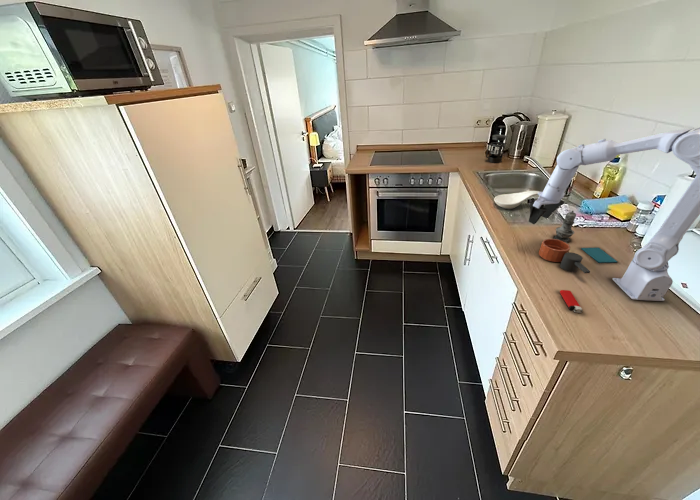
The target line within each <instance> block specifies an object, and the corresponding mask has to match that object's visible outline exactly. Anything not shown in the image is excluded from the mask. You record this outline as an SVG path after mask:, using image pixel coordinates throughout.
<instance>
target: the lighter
mask: <svg viewBox="0 0 700 500" xmlns="http://www.w3.org/2000/svg"><path fill="white" fill-rule="evenodd" d="M559 293H560V295H561V297H562V298H563V300H564V303H565V304H566V305H567V307H568V309H569V310H570V311H573V312H574V313H575V314H576V313H577V314H581V313H583V312H584V310H583V308H582V307H581V305H580V304H579V302H578V300H577V299H576V297H575V296H574V294H573V292H572V291H571V290H568V289H567V290H566V289H560V290H559Z"/></svg>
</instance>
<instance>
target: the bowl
mask: <svg viewBox="0 0 700 500" xmlns="http://www.w3.org/2000/svg"><path fill="white" fill-rule="evenodd" d="M570 250H571V246H570V244H569V243H568V242H563V241H561V240H557V239H554V238H545V239H543V240H542V242H541V245H540V248H539V250H538V256H539V257H541V258H542V259H544V260H546V261H548V262H553V263H561V262H562V259H563V257H564V254H565V253H567V252H570Z"/></svg>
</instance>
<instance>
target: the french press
mask: <svg viewBox="0 0 700 500" xmlns="http://www.w3.org/2000/svg"><path fill="white" fill-rule="evenodd" d="M497 127H498V128H500V131H499V134H493V135H492V141H493V142H491V143H488V144H487V148H486V152H485V153H486V154H485V158H486V159H487V160H486V162H487V163H490V164H500V163H502V162H503V154H504V151H505V147H506V143H505V142H503V141H506V140H507V138H508V135H506V134H501V133H502V130H503V128H506V126H505V125H499V126H497ZM500 141H501V142H500Z"/></svg>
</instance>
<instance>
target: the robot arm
mask: <svg viewBox="0 0 700 500" xmlns="http://www.w3.org/2000/svg"><path fill="white" fill-rule="evenodd" d="M651 150H658V151H660V152H663V153H664V154H669V153H671V152H672V154H673V155H674V156H675V158H677V159H678V160H680V161H682V162H684V163H685V164H688V165H689V166H690V168H691V169H692V170H693V172H694V173H695V175H696V176H695V177H694V178H693V180H692V181H691V182H690V184H689V185H688V187H687V188H686V189H685V191H684V193H683V194H682V196H681V197H680V199H679V200H678V201H677V203H676V204H675V206H674V208H672V209H671V211H670V213H669V214H668V216H667V217H666V219H665V220H664V221H663V223H662V224H661V225H660V227H659V228H658V230H657V231H656V232H655V234H653V236H652V237H651V238H650V240H649V241H648V242H647V243H646V244H645V245H643V246H642V247H641V248H639V249H637V250H636V251H635V253H634V256H633V258H632V260H631V261H630V262H629V264H628V266H627V268H626V270H625V272H624V274H623V275H622V277H612V278H611V280H612V281H613V282H614V283H615V284H616V285H617V286H618V287H619V288H620V289H621V290H622V291H623V292H624V293H625V294H626V295H627V296H628V297H629V298H630V299H632V300H633V301H656V302H664V301H665V300H666V299H665V298H664V296H665V295H666V293H667V292H668V291H669V290H670V288H671V286H672V285H673V282H674V281H673V279H672V277H671V276H670V275H669V273H668V269H669V268H670V265H669V261H670V260H671V259H672V258H673V257H675V256H676V255H677V254H678V253H679V250H680V248H679V247H680V243H681V241H682V240H683V238H684V236H685V234H686V233H687V232H688V230H689V229H690V228H691V227H692V225H693V224H694V223H695V221H696V220H697V219H698V218H699V216H700V127H698V128H694V127H688V128H681V129H675V130H669V131H664V132H660V133H655V134H651V135H646V136H642V137H637V138H634V139H629V140H625V141H620V142H617V141H615V140H613V139H607V138H602V139H599V140H597V142H594V143H589V144H584V143H583V144H582V143H581V144H578V146H574V147H571V148H568V149H565V150H563V151H561V152H560V153H559V154H558V155H557V157H556V166H555V168H554V170H553V171H552V173H551V175H550V176H549V179H548V180H547V183H546V185H545V187H544V189H543V190H542V191H539V192H538V195H537V196H538V198H537V199H536V200H534V201H531V202H530V203H529V211H530V212H529V218H528V222H529V223H530V224H532V225H535V224H537V223H538V222H539V220H540V219H541V218H542V217H543V218H545V219H549V217H551V216H552V215H553V214H554V212H555V211H556V210H557V209H558V208H560V207H561V206H562V205H564V204H565V201H564V200H562V199H564V197H565V195H566V191H567V189H568V188H569V185H570V183H571V182H572V180H573V179H574V177H575V175H576V172H577V171H578V170H579V167H580V166H589V165H593V164H601V163H606V162H612V161H613V160H614V159H615V158H616V157H617V156H618V155H619V156H620V155H626V154H631V153H639V152H645V151H651ZM544 204H545V206H544Z"/></svg>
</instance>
